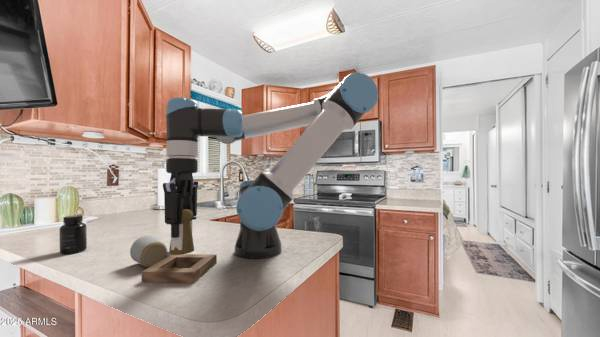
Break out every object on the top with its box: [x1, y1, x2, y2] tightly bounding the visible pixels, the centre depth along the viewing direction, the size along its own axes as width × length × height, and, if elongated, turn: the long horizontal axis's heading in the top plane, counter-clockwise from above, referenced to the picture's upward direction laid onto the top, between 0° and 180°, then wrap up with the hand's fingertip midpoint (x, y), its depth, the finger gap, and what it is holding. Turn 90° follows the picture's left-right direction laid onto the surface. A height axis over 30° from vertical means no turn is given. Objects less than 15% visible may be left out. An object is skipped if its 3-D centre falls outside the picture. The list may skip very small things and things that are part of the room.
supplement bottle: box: [59, 214, 88, 255], centre depth 85 cm, size 7×7×12 cm
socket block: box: [141, 253, 218, 284], centre depth 66 cm, size 13×13×2 cm
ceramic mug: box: [129, 235, 171, 268], centre depth 73 cm, size 11×8×8 cm
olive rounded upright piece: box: [168, 209, 195, 255], centre depth 66 cm, size 6×6×11 cm
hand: (182, 246), depth 66 cm, fingers closed on olive rounded upright piece, 4 cm apart
